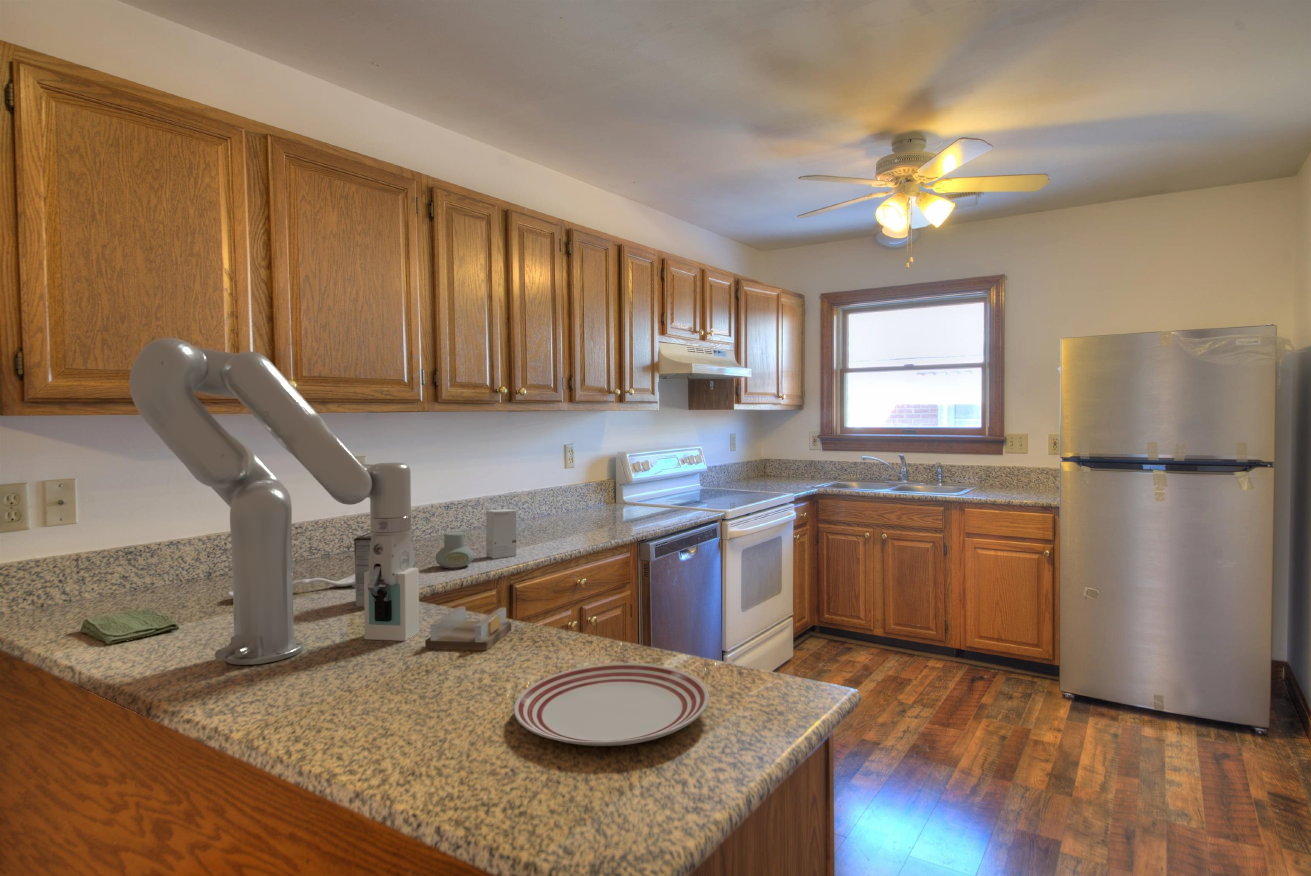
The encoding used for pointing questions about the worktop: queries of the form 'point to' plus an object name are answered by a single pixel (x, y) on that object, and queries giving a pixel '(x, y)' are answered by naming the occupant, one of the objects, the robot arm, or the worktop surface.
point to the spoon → (341, 583)
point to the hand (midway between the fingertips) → (391, 615)
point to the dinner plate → (611, 704)
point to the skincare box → (500, 533)
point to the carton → (395, 609)
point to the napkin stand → (467, 638)
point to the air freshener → (454, 551)
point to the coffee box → (361, 565)
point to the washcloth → (128, 625)
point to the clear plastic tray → (458, 618)
